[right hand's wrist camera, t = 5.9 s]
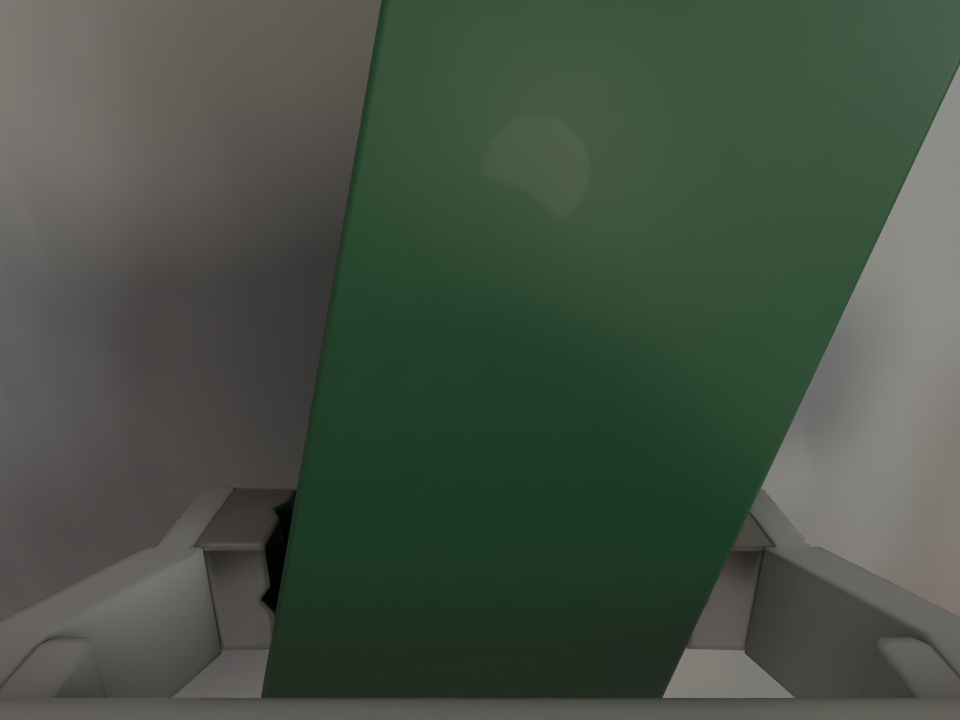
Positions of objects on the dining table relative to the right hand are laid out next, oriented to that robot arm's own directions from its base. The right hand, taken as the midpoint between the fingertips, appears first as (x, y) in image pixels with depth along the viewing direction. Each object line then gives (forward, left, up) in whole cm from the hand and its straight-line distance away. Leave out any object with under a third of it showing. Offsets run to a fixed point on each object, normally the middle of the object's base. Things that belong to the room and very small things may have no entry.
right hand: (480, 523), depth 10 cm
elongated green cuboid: (+4, +3, -5) cm, 7 cm away
